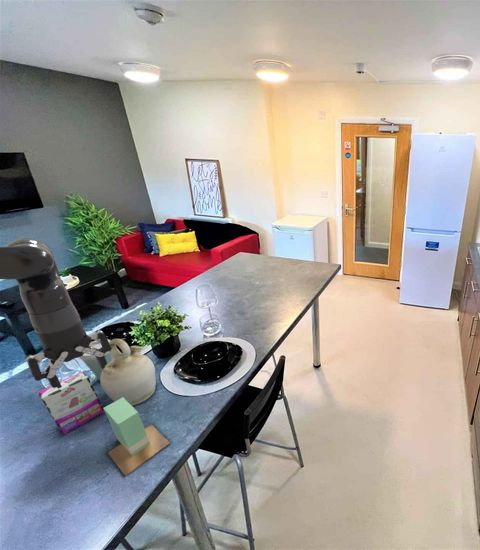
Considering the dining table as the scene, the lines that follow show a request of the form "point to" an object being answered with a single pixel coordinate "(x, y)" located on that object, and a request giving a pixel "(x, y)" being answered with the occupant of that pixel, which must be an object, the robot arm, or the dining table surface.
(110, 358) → the disposable coffee cup
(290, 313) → the dining table surface
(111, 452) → the cork mat
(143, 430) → the green carton
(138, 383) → the jug
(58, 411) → the candy bar box
